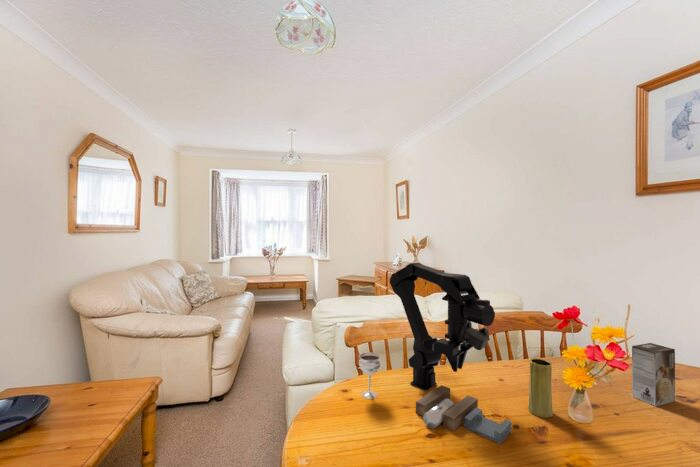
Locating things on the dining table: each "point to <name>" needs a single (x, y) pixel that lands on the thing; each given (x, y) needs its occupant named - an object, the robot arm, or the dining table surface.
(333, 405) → the dining table surface
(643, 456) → the dining table surface
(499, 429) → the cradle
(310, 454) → the dining table surface
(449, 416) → the pair of brown blocks
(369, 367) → the wineglass
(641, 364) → the coffee box
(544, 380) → the vase
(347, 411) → the dining table surface
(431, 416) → the axle
